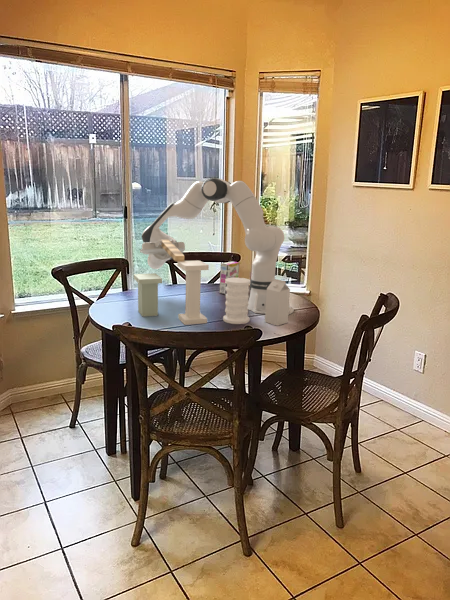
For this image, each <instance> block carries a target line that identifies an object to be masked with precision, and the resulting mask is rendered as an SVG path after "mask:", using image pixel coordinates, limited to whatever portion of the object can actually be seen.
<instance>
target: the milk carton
mask: <svg viewBox="0 0 450 600" xmlns="http://www.w3.org/2000/svg"><path fill="white" fill-rule="evenodd" d="M286 282H287V281H285V280H282V279H276V278H275V279H272V282H271V283H270V285H269V286H268V288H267V294H266V312H265V314H264V315H265V316H264V322H265V323H268V324H271V325H274V326H282V325H284V324H287V323H289V315H288V312H289V303H290V293H291V289H290V287H289V286H288V285H287V284H286Z"/></svg>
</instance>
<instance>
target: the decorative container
mask: <svg viewBox="0 0 450 600" xmlns="http://www.w3.org/2000/svg"><path fill="white" fill-rule="evenodd" d="M250 280H251V279H249V278H246V277H245V278H244V277H238V278H227V279H225V283H226V284H227V287H226V291H227V294H226V295H225V303H224V304H225V309H224V313H225V314H224V315H223V316H222V321H223V322H225V323H227V324H232V325H244V324H247V323H250V317H249V316H248V313H249V309H248V305H249V303H248V301H249V297H250V294H249V293H250Z"/></svg>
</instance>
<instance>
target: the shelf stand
mask: <svg viewBox="0 0 450 600" xmlns="http://www.w3.org/2000/svg"><path fill="white" fill-rule="evenodd" d="M176 262H177V267H179V268H180V269H182V270H183V271H185V313H178V315H177V317H178V320H179V321H180V322H181V323H182V324H183V325H184V326H189V325H199V324H201V325H202V324H208V318H207V317H206V316H205V315H204V314H203V313H201V285H202V284H201V280H202V271H209V270H210V269H209V267H210V266H209V264H207V263H205V262H204V261H201V260H200V259H199V260H184V261H176Z"/></svg>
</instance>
